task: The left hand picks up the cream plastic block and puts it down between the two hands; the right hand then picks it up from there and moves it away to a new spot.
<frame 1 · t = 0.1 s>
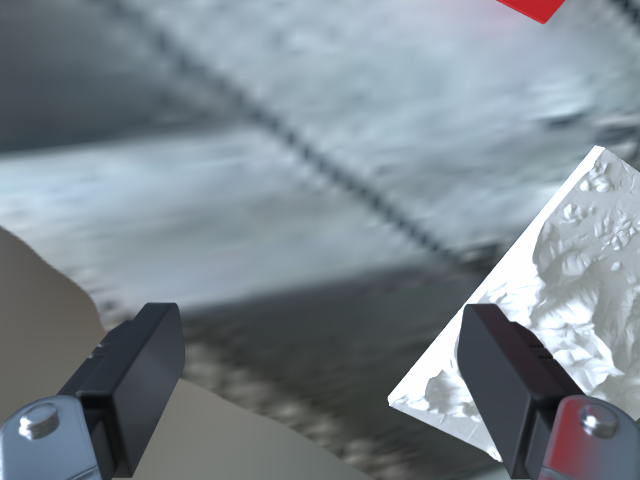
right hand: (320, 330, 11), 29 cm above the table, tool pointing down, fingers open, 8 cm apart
relief map: (571, 339, 46), on the table
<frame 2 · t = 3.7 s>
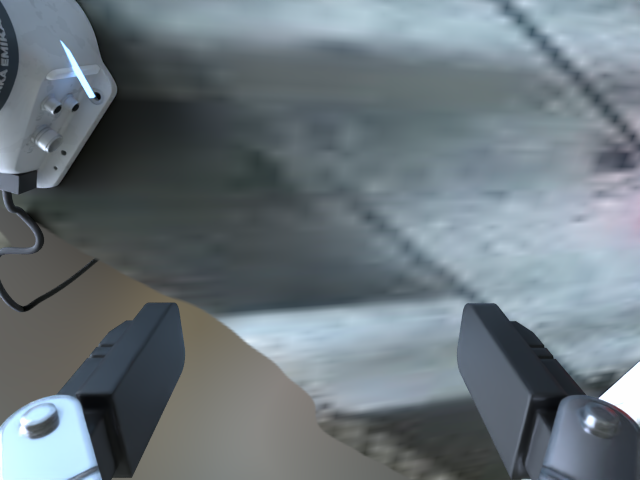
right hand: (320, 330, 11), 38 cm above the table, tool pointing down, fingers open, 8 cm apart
when the left hand's fingers open (3 cm above the table, at t = 7.6 s): block stays where it is, on the table.
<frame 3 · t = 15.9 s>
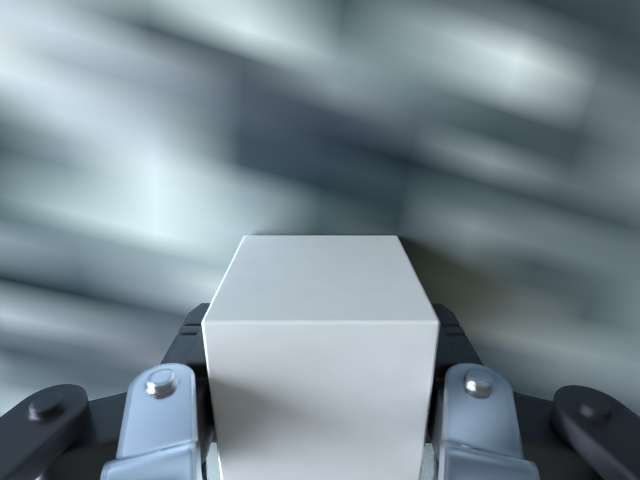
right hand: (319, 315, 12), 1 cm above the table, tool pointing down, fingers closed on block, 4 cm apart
block: (320, 306, 13), on the table, touching right hand
when the right hand's fingers open (1 cm above the table, at t = 20.2 s): block stays where it is, on the table.
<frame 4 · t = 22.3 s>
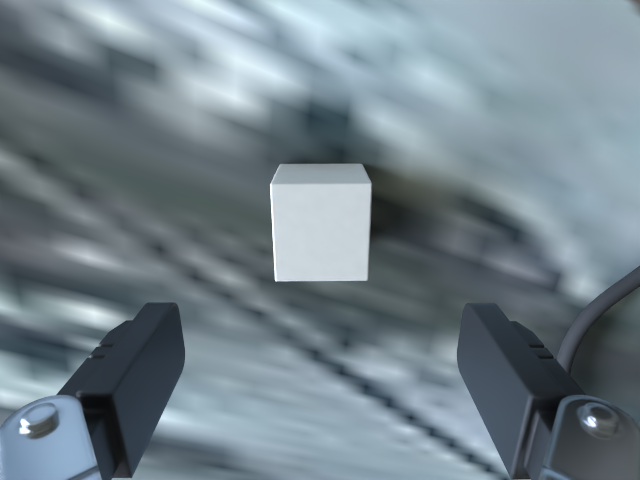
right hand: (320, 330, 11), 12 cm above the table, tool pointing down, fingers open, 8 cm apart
block: (321, 206, 23), on the table
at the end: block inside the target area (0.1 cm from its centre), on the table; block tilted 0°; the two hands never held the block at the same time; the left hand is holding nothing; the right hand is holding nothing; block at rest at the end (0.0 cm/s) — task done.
